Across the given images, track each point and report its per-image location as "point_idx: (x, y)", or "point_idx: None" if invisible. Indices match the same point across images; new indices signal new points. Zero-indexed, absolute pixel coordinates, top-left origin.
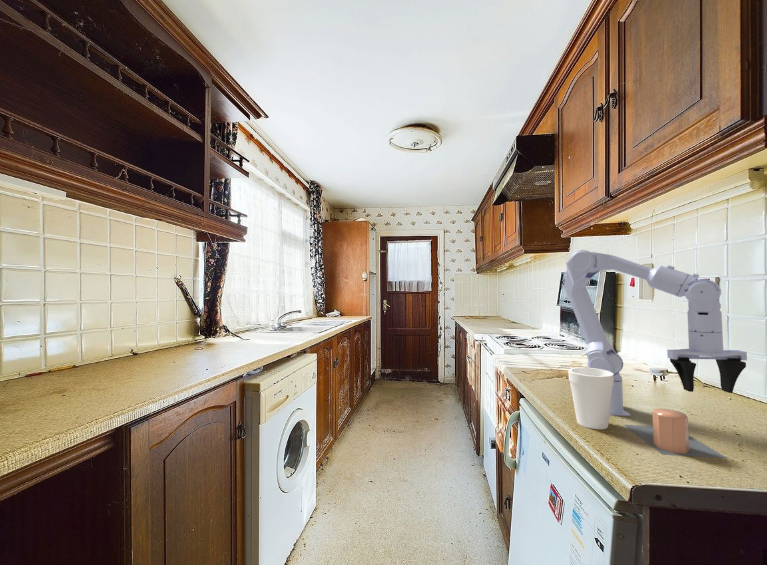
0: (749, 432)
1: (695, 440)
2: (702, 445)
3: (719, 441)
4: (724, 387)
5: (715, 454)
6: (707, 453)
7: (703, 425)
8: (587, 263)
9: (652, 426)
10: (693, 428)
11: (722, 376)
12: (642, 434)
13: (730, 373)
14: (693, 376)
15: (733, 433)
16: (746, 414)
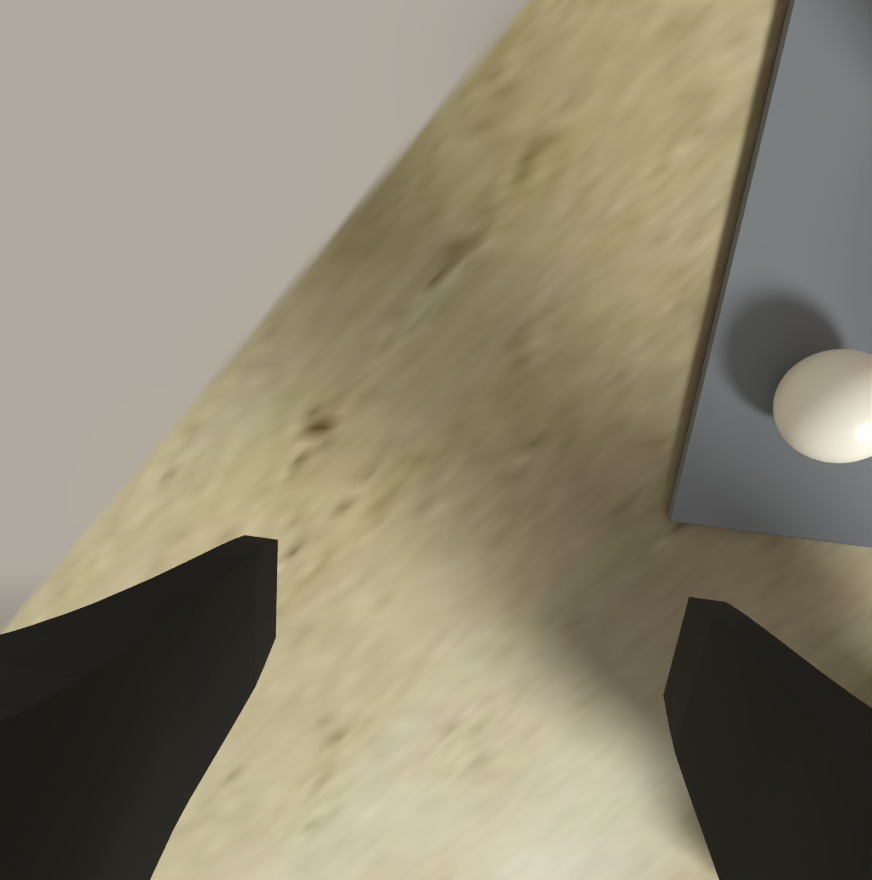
0: (216, 455)
1: (744, 283)
2: (781, 186)
3: (545, 305)
4: (259, 629)
5: (840, 14)
6: None
7: (416, 566)
8: None
9: (837, 531)
10: (529, 520)
11: (182, 771)
12: None
13: (119, 697)
14: (820, 727)
15: (332, 439)
16: None
